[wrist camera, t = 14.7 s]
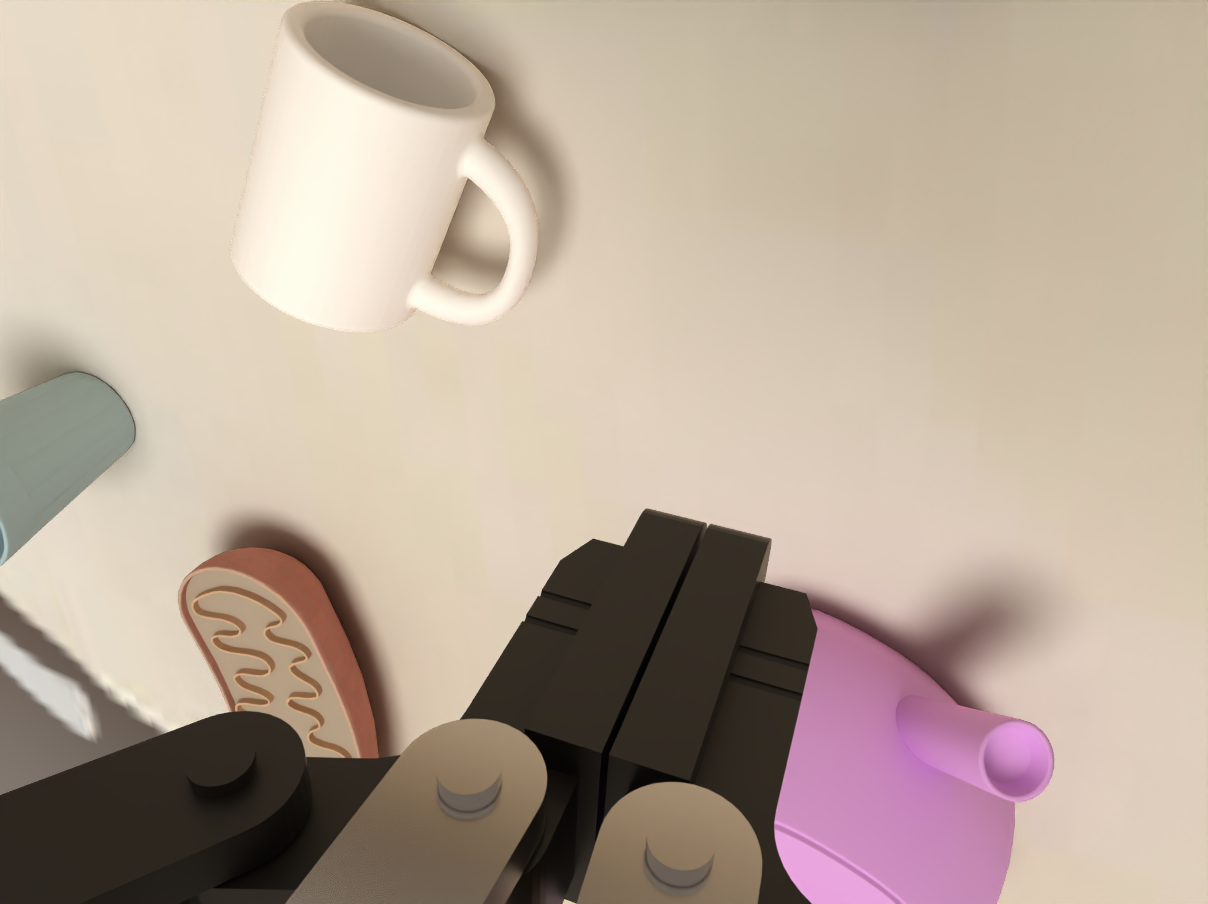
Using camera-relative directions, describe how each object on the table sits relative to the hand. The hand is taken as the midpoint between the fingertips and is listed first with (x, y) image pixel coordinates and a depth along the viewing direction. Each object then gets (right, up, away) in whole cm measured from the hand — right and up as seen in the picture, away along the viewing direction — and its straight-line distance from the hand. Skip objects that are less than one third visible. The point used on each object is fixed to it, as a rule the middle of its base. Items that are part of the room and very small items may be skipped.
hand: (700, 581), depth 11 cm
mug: (-8, +14, +29) cm, 33 cm away
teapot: (+11, -12, +38) cm, 42 cm away
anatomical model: (-19, -12, +50) cm, 55 cm away
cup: (-31, +4, +44) cm, 54 cm away
